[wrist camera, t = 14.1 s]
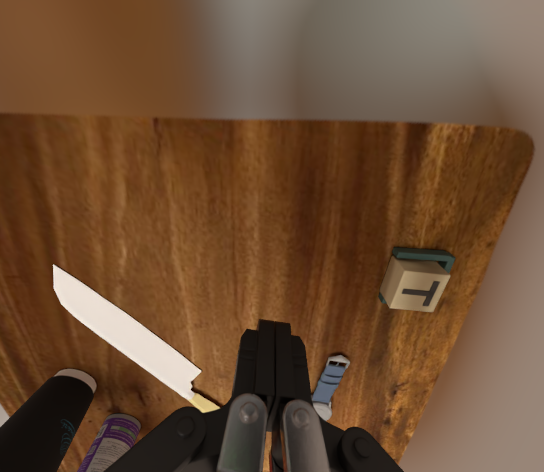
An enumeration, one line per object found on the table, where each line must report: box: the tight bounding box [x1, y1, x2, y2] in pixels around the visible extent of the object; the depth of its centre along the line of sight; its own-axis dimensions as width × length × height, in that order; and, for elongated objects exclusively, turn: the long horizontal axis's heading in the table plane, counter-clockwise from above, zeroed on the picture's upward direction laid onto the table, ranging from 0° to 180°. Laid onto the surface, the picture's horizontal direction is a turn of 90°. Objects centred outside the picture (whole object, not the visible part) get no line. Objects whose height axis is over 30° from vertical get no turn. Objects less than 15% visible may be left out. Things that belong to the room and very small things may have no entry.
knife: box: [53, 265, 220, 413], centre depth 30 cm, size 1×34×5 cm
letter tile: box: [380, 255, 450, 312], centre depth 24 cm, size 4×4×3 cm
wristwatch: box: [311, 355, 350, 421], centre depth 33 cm, size 4×20×1 cm, turn 167°
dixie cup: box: [0, 369, 97, 472], centre depth 27 cm, size 8×8×11 cm
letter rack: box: [379, 247, 455, 303], centre depth 24 cm, size 5×6×1 cm
